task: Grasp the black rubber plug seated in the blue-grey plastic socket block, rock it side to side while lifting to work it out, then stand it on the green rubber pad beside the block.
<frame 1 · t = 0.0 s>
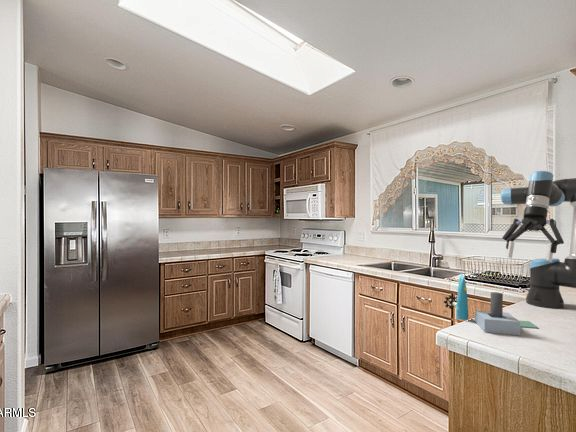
hand: (528, 259, 128), 28 cm above the table, tool tilted 20°, fingers open, 13 cm apart
valve: (457, 312, 151), on the table
pad: (522, 324, 134), on the table
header: (496, 328, 129), on the table
tube: (462, 319, 141), on the table
plug: (496, 310, 129), in the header
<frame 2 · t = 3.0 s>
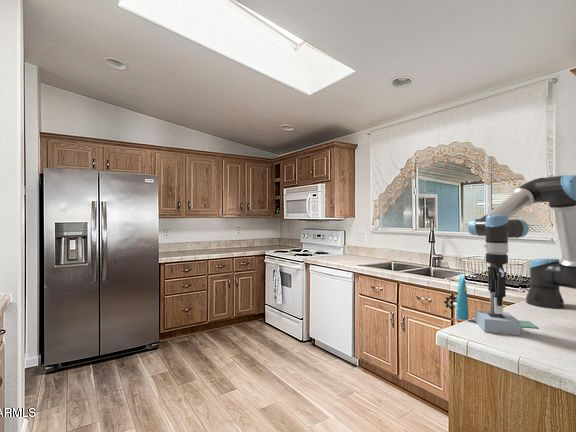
hand: (496, 311, 129), 7 cm above the table, tool pointing down, fingers closed on plug, 4 cm apart
plug: (496, 310, 129), in the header, touching gripper
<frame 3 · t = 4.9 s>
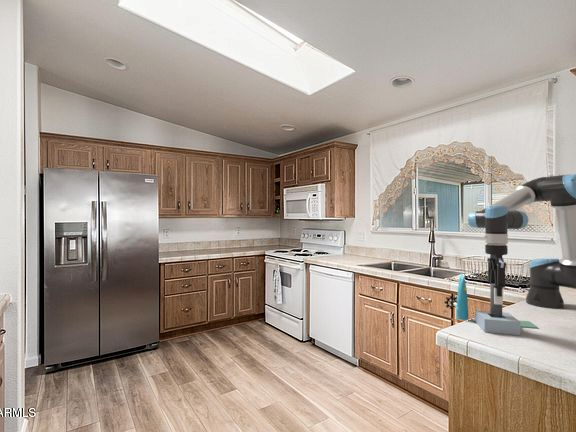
hand: (496, 302, 129), 10 cm above the table, tool pointing down, fingers closed on plug, 4 cm apart
plug: (496, 301, 129), point 10 cm above the table, touching gripper
everything else where it was.
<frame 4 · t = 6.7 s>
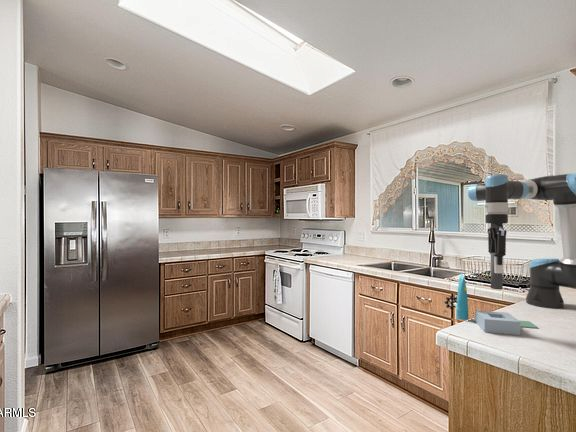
hand: (496, 272, 129), 23 cm above the table, tool pointing down, fingers closed on plug, 4 cm apart
plug: (496, 270, 129), point 23 cm above the table, touching gripper
everything else where it was.
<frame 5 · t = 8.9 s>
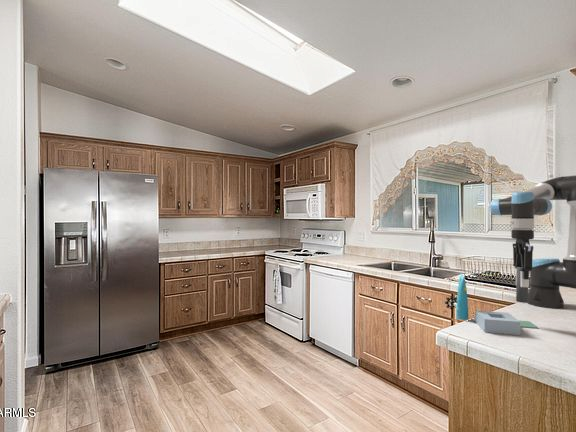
hand: (522, 285, 133), 16 cm above the table, tool pointing down, fingers closed on plug, 4 cm apart
plug: (522, 284, 133), point 16 cm above the table, touching gripper
when the fingers open (8 cm above the table, at t = 10.5 s): plug drops 2 cm, resting on pad.
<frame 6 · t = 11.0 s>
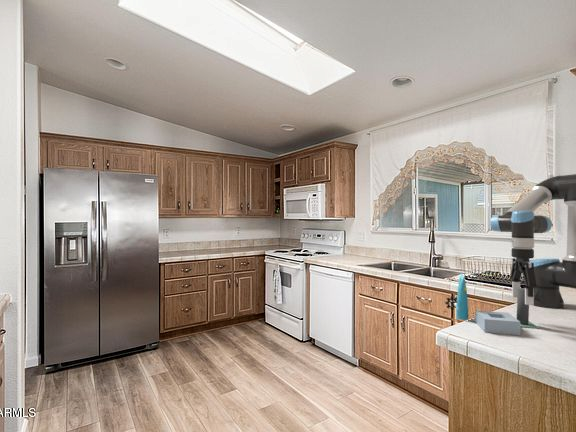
hand: (522, 300, 134), 10 cm above the table, tool pointing down, fingers open, 11 cm apart
plug: (522, 306, 134), on the pad
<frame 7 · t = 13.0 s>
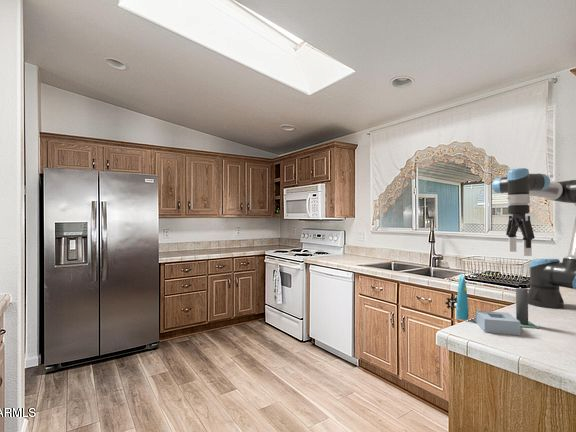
hand: (519, 253, 140), 29 cm above the table, tool pointing down, fingers open, 13 cm apart
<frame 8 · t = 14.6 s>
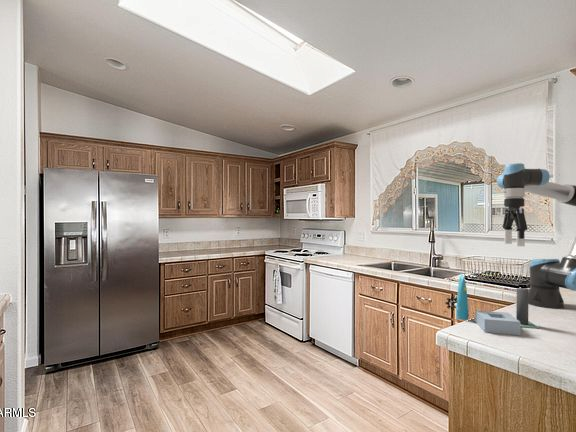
hand: (514, 244, 147), 32 cm above the table, tool pointing down, fingers open, 13 cm apart
at the end: plug inside the target area (0.1 cm from its centre), point 7.5 cm above the table; plug tilted 2° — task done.
